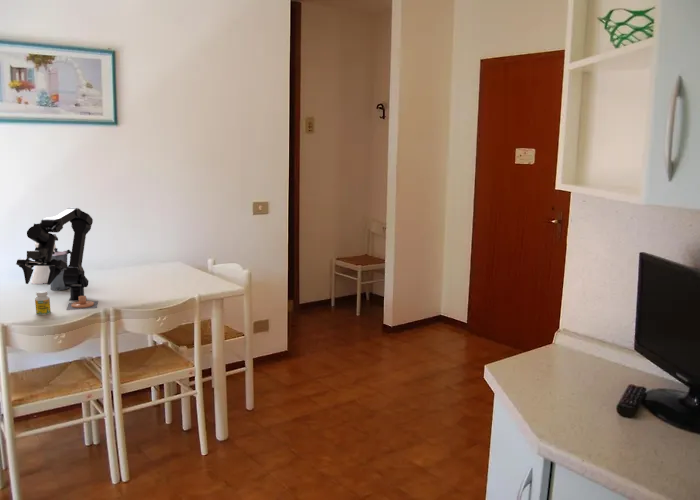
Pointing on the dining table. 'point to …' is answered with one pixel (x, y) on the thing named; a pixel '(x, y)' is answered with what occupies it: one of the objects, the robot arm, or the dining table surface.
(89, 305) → the lid
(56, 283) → the moka pot
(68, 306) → the mat
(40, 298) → the supplement bottle
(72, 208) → the robot arm
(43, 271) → the white bottle
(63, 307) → the dining table surface
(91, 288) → the dining table surface
